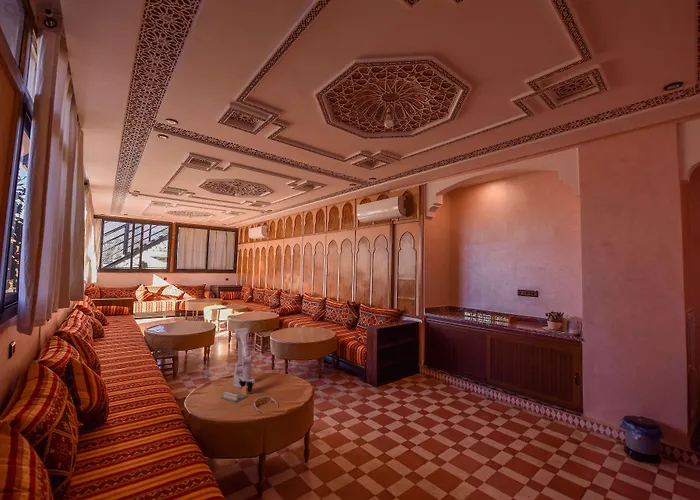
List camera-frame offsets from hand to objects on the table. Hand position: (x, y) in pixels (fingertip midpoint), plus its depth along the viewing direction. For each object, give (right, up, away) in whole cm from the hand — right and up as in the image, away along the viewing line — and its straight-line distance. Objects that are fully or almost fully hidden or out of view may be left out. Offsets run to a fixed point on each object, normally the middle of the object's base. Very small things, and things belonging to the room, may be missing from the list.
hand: (246, 391), depth 235 cm
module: (0, -2, 0) cm, 2 cm away
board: (-6, -1, -8) cm, 10 cm away
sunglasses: (+20, -2, -22) cm, 30 cm away
